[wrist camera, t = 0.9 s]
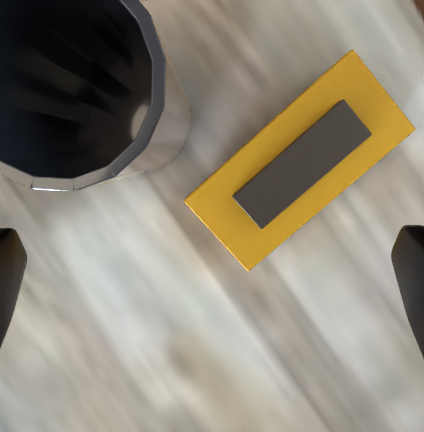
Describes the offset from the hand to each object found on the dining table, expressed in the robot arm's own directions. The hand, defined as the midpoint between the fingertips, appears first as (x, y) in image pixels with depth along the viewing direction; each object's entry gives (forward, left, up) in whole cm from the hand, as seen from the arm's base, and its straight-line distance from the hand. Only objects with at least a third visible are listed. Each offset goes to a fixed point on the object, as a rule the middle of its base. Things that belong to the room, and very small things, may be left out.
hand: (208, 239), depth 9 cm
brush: (+4, -2, -15) cm, 16 cm away
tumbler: (-1, +6, -15) cm, 16 cm away
